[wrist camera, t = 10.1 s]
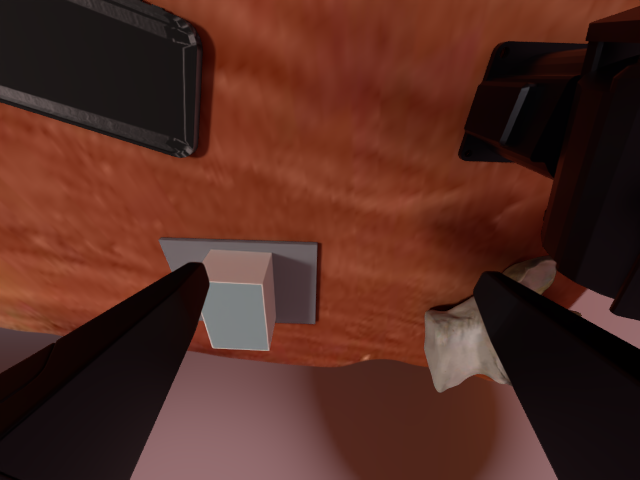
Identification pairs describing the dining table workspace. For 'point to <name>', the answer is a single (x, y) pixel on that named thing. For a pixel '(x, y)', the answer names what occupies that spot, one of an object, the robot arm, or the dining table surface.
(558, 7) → the dining table surface
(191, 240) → the mat
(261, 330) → the card box
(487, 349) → the ceramic sculpture
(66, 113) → the phone
